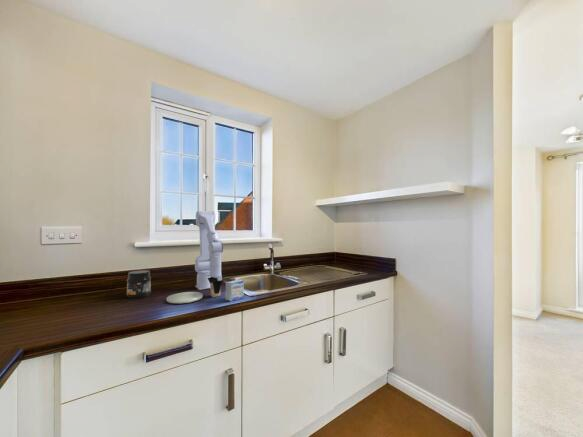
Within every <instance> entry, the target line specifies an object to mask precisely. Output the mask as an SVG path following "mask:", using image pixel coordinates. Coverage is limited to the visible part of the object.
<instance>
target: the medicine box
mask: <svg viewBox="0 0 583 437" xmlns="http://www.w3.org/2000/svg"><path fill="white" fill-rule="evenodd" d="M244 282H245V280H243V279H236V280H231V281H226V282H225V301H227V300H229V301H228V302H231V301H232V302H234V301H233V300H235V301H237V300H236V299H238V300H240V299H239V298H242V299H244V298H243V297H244V296H245V294H244V293H245V292H244V291H245V290H244V288H245V286H244V285H245V283H244Z"/></svg>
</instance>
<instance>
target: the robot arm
mask: <svg viewBox="0 0 583 437" xmlns="http://www.w3.org/2000/svg"><path fill="white" fill-rule="evenodd" d="M215 220H216V213H215V211H209V210H208V211H207V210H197V211H196V213H195V225H196V226H197V227H198V228H199V251H200V252H199V253H200V254H199V255H198V256H197V257H196V258H195V259H194V260H195V261H194V270H195V272H196V273H197V274H196V285H195V288H196V289H197V290H198V291H199V290H205V289H210V283H213V287H214V293H215V294H217V293H219V291H220V287H222V284H223V282H224V279H223V276H222V253H223V252H224V242H223V241H222V240H221V239H220V237H219V234H218V232H217V231H216V230H215V225H214V224H215Z"/></svg>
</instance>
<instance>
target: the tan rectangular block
mask: <svg viewBox="0 0 583 437" xmlns="http://www.w3.org/2000/svg"><path fill="white" fill-rule="evenodd" d="M221 287H222V286H221ZM221 287H220V291H219V293H217V294H215V293H214V287H213V283H210V288H209V292H210V293H209V295H210V296H211V297H212V298H216V297H221V295H222V294H221Z"/></svg>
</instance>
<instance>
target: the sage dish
mask: <svg viewBox="0 0 583 437" xmlns="http://www.w3.org/2000/svg"><path fill="white" fill-rule="evenodd" d="M203 296H204V295H203V293H202V292H198V291H184V292H179V293H173V294H171V295H168V296H167V297H166V302H167V303H169V304H187V303H188V304H189V303H192V302H197V301H199V300H201V299H203Z"/></svg>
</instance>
